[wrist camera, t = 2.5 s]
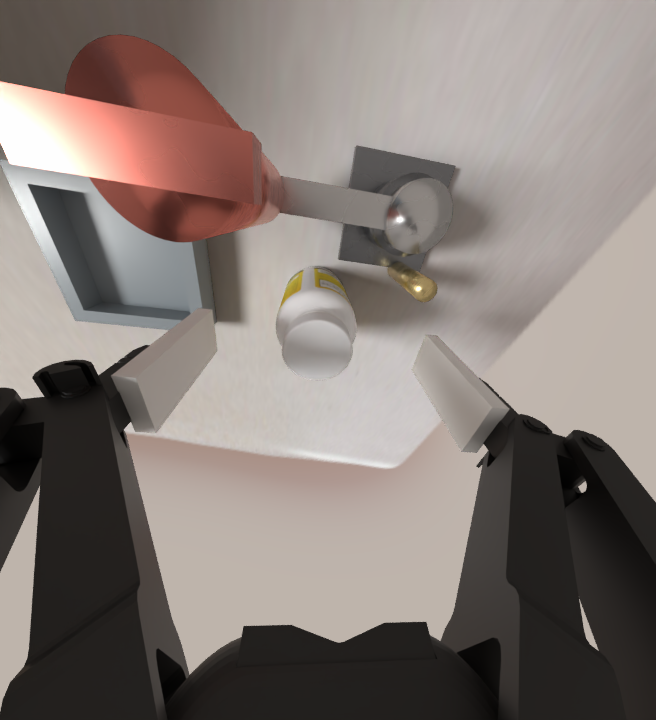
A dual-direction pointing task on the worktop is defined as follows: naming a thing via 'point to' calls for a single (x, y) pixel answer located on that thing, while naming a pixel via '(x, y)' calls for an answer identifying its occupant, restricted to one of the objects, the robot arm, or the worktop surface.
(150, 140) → the crank
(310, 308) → the supplement bottle
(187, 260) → the tray
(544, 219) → the worktop surface
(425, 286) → the crank pedestal
